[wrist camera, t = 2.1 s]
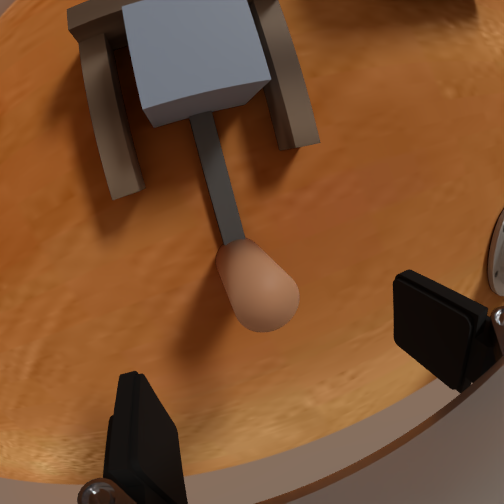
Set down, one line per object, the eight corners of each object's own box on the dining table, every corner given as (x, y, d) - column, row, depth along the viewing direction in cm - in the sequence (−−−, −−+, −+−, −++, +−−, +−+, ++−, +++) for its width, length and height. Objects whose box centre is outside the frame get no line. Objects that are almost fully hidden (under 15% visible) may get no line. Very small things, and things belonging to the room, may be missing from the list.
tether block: (285, 268, 22) (329, 309, 15) (204, 294, 21) (216, 349, 14) (223, 28, 16) (245, -27, 10) (135, 48, 15) (118, -3, 9)
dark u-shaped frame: (301, 145, 20) (336, 140, 15) (122, 196, 18) (103, 204, 13) (259, 1, 16) (280, -34, 11) (88, 40, 14) (66, 9, 10)
